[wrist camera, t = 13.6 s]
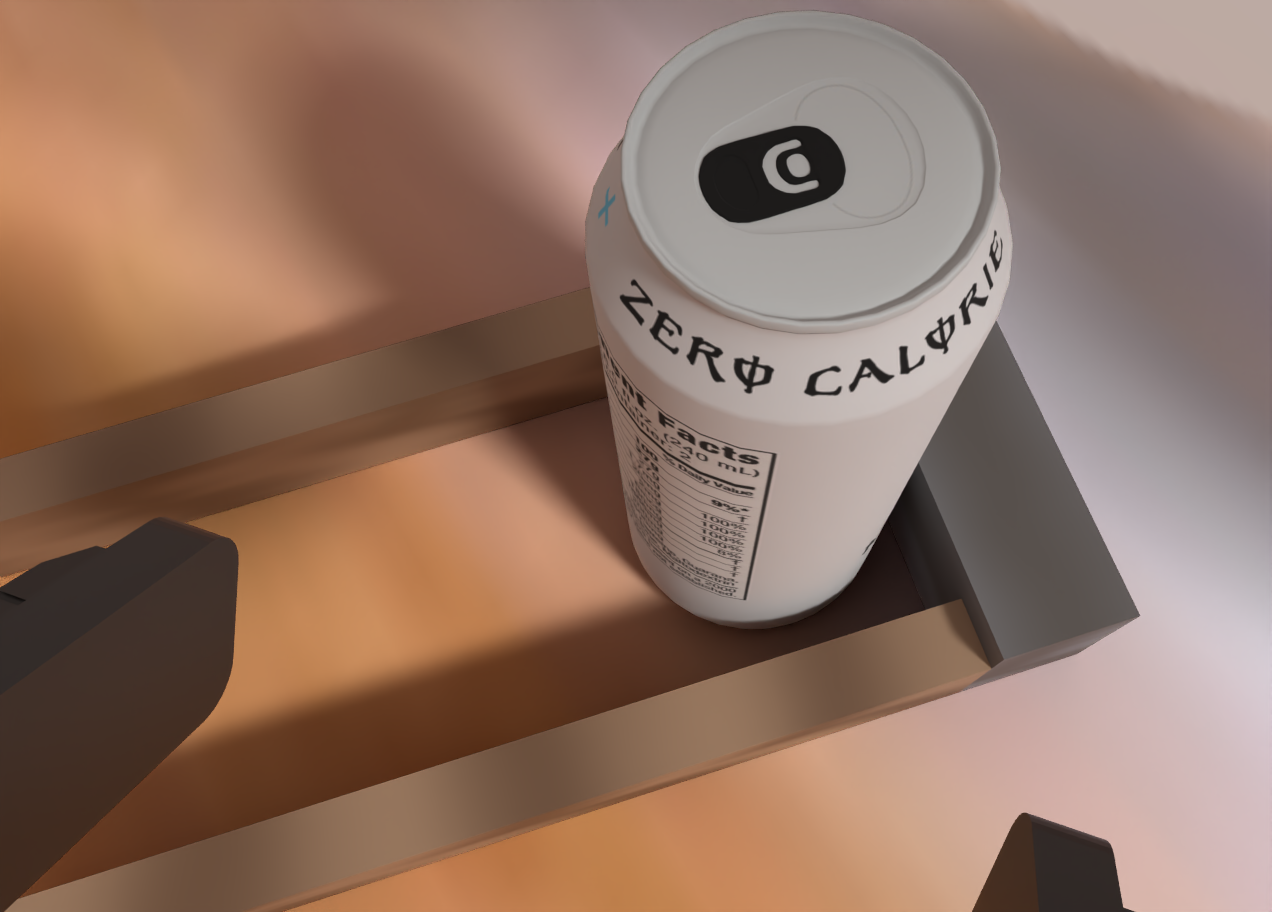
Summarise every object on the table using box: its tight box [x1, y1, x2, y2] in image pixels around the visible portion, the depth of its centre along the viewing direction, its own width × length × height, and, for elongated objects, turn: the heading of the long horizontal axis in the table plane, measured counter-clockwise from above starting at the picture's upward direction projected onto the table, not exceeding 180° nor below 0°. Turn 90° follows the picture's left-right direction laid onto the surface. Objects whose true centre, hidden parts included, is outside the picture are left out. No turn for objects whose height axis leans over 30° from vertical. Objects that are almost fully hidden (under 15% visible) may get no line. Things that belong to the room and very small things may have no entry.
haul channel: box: [0, 287, 1140, 912], centre depth 26 cm, size 25×12×4 cm, turn 107°
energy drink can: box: [585, 10, 1013, 629], centre depth 21 cm, size 6×6×15 cm
